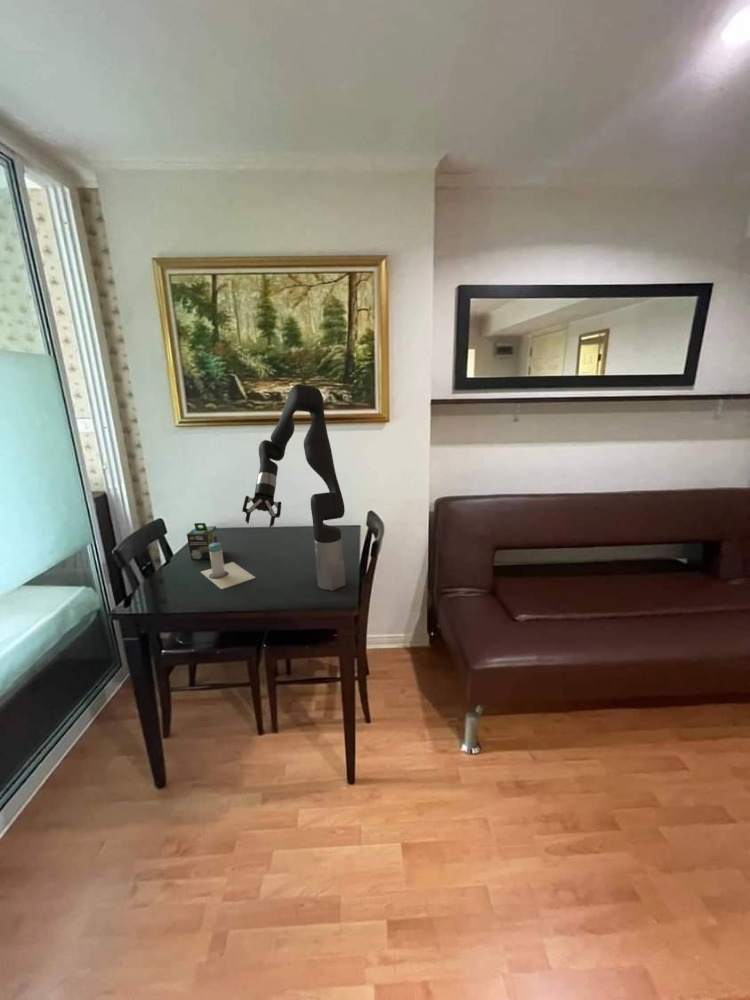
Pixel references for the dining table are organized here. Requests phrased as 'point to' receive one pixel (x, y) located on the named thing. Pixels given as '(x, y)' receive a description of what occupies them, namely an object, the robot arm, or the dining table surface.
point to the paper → (229, 576)
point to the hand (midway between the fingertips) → (259, 524)
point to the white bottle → (216, 559)
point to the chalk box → (201, 540)
